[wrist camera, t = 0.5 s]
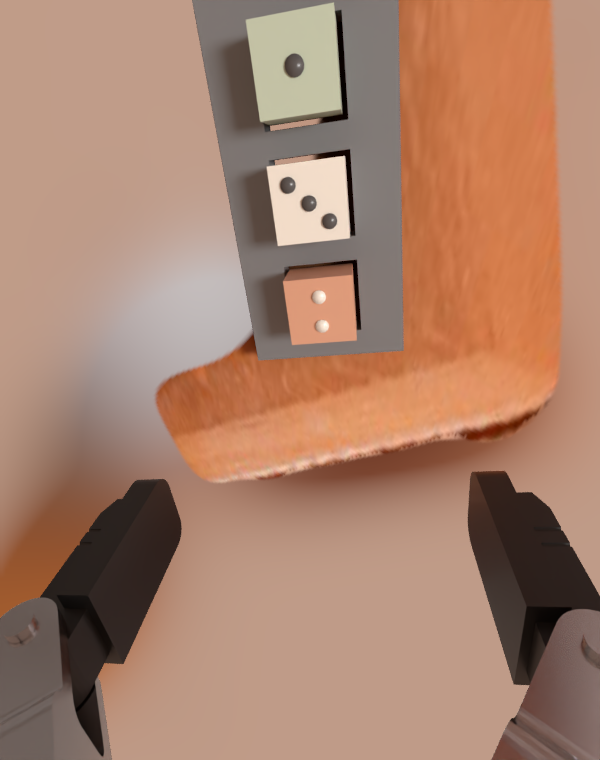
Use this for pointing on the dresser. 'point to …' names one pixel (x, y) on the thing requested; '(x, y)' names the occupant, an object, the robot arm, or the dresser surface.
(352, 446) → the dresser surface
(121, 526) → the robot arm
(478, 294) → the dresser surface
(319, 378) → the dresser surface
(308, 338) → the terracotta button
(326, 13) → the sage button
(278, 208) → the cream button
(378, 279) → the button panel
